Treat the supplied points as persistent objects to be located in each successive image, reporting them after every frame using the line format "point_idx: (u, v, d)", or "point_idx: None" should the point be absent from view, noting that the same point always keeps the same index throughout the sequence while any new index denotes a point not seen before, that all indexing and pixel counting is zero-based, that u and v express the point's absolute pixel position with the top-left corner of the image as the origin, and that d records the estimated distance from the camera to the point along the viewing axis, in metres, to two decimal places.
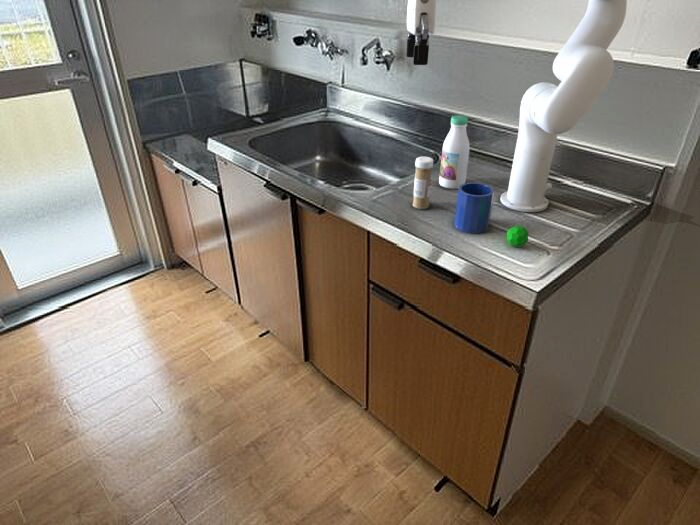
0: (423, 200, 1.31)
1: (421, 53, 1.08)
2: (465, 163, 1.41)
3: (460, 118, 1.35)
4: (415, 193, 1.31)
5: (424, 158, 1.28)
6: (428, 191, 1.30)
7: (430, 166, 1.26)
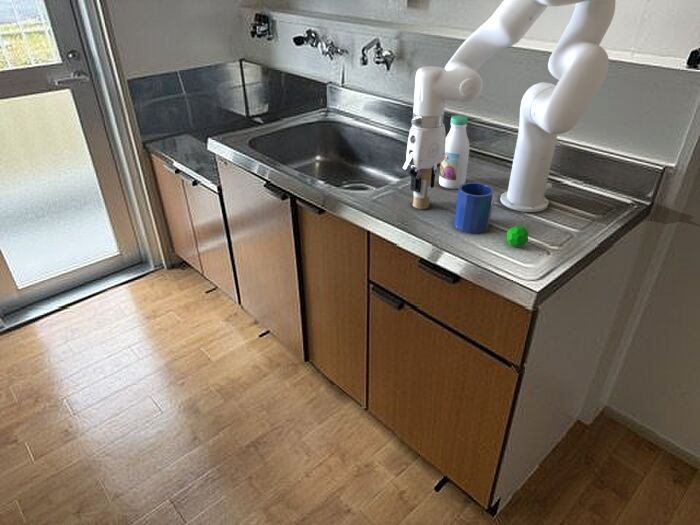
0: (423, 200, 1.31)
1: (413, 182, 1.29)
2: (465, 163, 1.41)
3: (460, 118, 1.35)
4: (415, 193, 1.31)
5: None
6: (428, 191, 1.30)
7: (430, 166, 1.26)
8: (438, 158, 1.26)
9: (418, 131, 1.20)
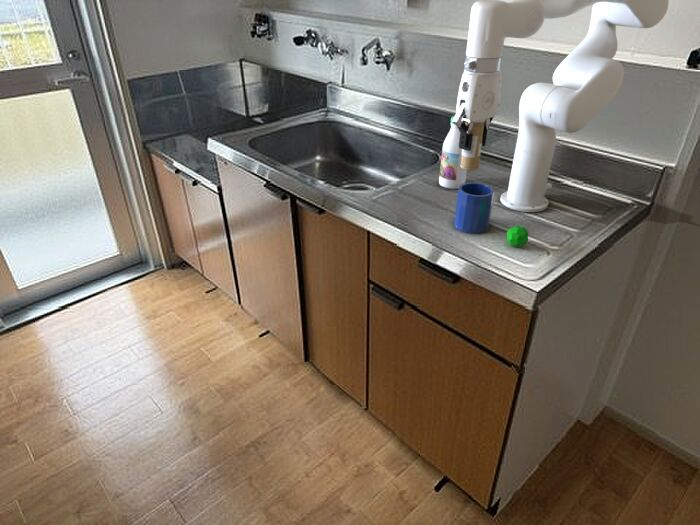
0: (473, 159, 1.16)
1: (462, 139, 1.13)
2: None
3: None
4: (464, 152, 1.16)
5: None
6: (479, 149, 1.15)
7: None
8: (492, 110, 1.11)
9: (472, 76, 1.04)
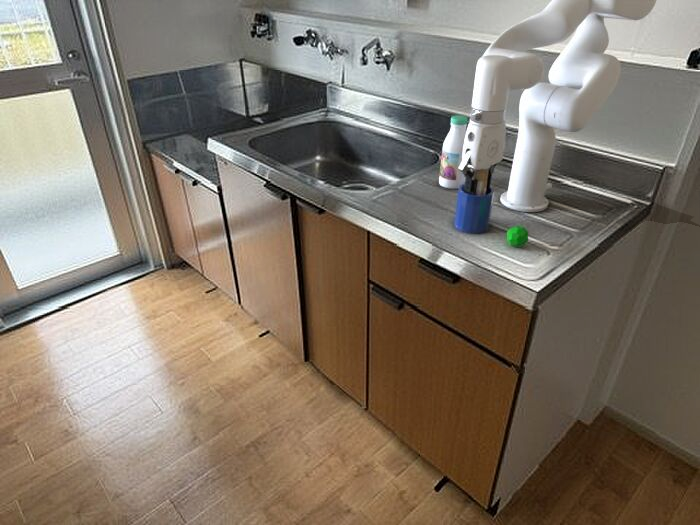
0: None
1: (468, 184, 1.17)
2: None
3: (460, 118, 1.35)
4: None
5: None
6: (484, 194, 1.19)
7: (488, 166, 1.15)
8: (497, 157, 1.14)
9: (478, 127, 1.08)
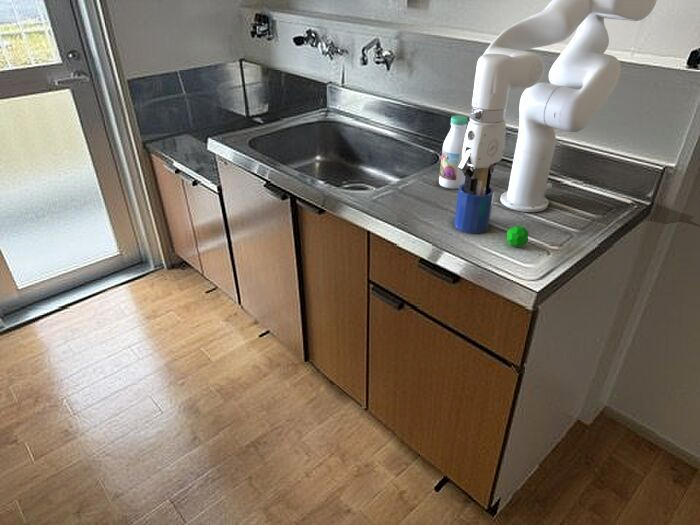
0: None
1: (467, 183, 1.16)
2: None
3: (460, 118, 1.35)
4: None
5: None
6: (483, 193, 1.18)
7: (488, 165, 1.14)
8: (497, 156, 1.14)
9: (478, 126, 1.08)
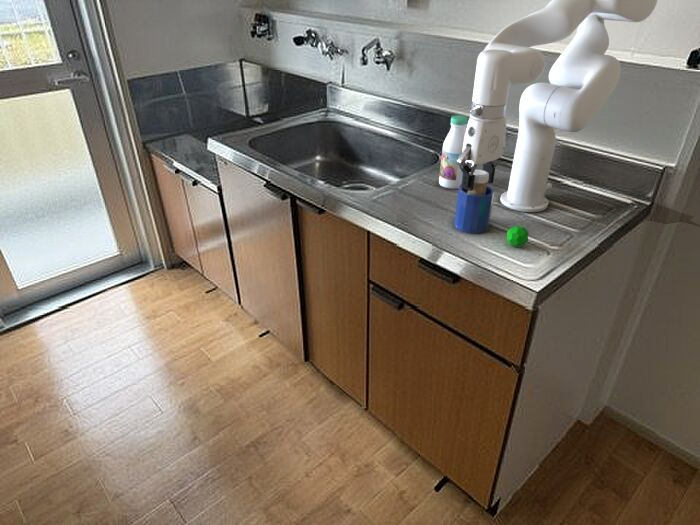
0: None
1: (465, 180, 1.15)
2: None
3: (460, 118, 1.35)
4: None
5: (479, 172, 1.18)
6: None
7: (486, 180, 1.16)
8: (497, 153, 1.14)
9: (478, 122, 1.07)
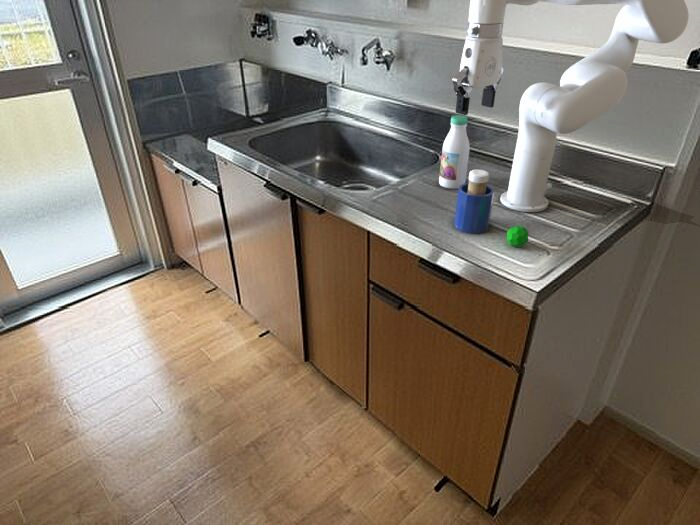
0: None
1: (459, 103, 1.13)
2: (465, 163, 1.41)
3: (460, 118, 1.35)
4: None
5: (479, 171, 1.18)
6: None
7: (486, 180, 1.17)
8: (494, 77, 1.13)
9: (476, 42, 1.06)
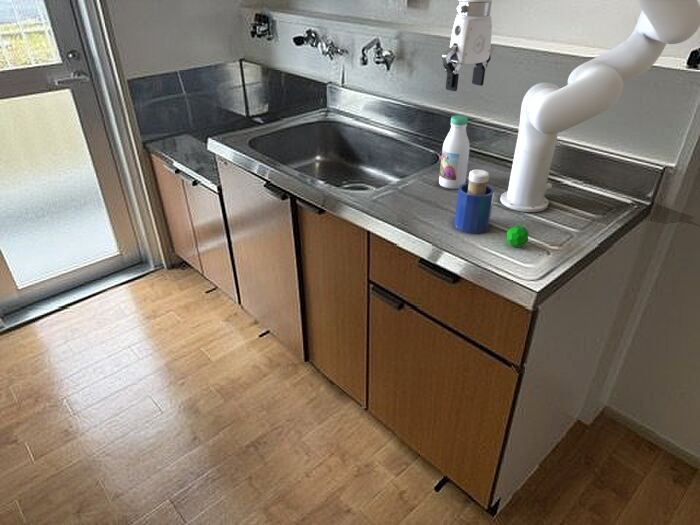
0: None
1: (449, 79, 1.18)
2: (465, 163, 1.41)
3: (460, 118, 1.35)
4: None
5: (479, 171, 1.18)
6: None
7: (486, 180, 1.17)
8: (483, 55, 1.17)
9: (464, 19, 1.11)
